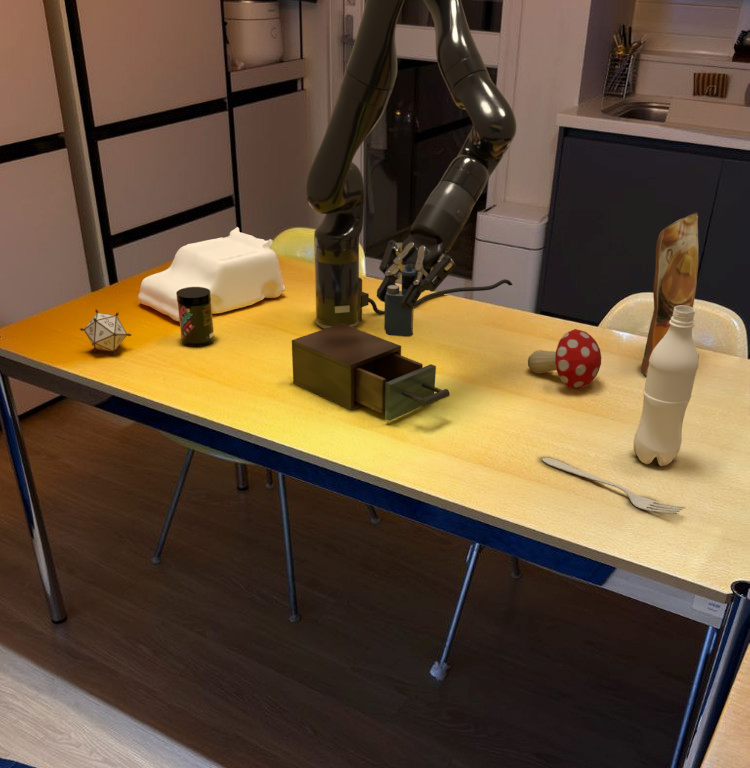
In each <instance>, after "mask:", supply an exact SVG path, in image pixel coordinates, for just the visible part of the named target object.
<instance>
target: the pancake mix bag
mask: <svg viewBox="0 0 750 768" xmlns="http://www.w3.org/2000/svg"><path fill="white" fill-rule="evenodd" d="M698 214H699V212H697V211H696V212H693V213H691V214H689V215H687V216H685V217H682V218H680V219H678V220H676V221H674V222H672V223H671V224H669V225H667V226H666V227H664V228H663V229H662V230H661V231H660V232H659V234H658V238H657V240H656V246H655V273H654V278H653V286H652V287H653V288H652V289H653V293H652V294H653V295H652V296H653V311H652V316H651V321H650V324H649V329H648V333H647V338H646V343H645V348H644V352H643V358H642V361H641V366H640V372H641V373H642V374H643V375H644V376H646V377H647V373H648V368H649V359H650V356H651V353H652V351H653V350H654V348H655V347H656V346H657V344H658V343H659V342H660V341H661V340H662V338H663V337H664V336H665V335H666V333H667V332H668V330H669V327H670V324H669V321H670V320H671V317H672V316H673V311H674V308H675V307H676V306H689V307H692V308H694V304H695V299H696V298H695V297H696V291H697V285H698V284H697V283H698V272H699V271H698V270H699V215H698Z"/></svg>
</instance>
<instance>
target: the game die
mask: <svg viewBox="0 0 750 768" xmlns="http://www.w3.org/2000/svg"><path fill="white" fill-rule="evenodd" d="M94 311H95V315H94V316H93V317H92V318H91V319H90V321H88V323H87V325H86V326H85V327H84V328H83V327H80V328H79V330H80V331H81V332H82V331H83V332H84V333H85V334H86V336H87V338H88V340H89V342H90V343H91V346H93V349H92V352H96V351H97V350H100V351H107V352H112V354H113V355H114V356H117V352H116V351H117V349H118V348H119V347H120V346H121V344H122V343H123V342H124V340H125V338H127V336H128V337H131V336H132V334H131V333H127V331H126V329H125V327H124V325H123V324H122V322H121V320H120V319H119V317H118V316H119V311H118V312H115V314H110V313H102V312H99V309H97V308H95V309H94Z"/></svg>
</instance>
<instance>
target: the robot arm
mask: <svg viewBox="0 0 750 768" xmlns="http://www.w3.org/2000/svg"><path fill="white" fill-rule="evenodd" d="M422 1H423V3H424V4H425V6H426V8H427V9H428V12H429V13H430V16H431V19H432V21H433V26H434V33H435V35H434V37H435V56H436V62H437V66H438V69H439V73H440V74H441V76H442V79H443V81H444V83H445V85H446V87H447V90H448V92H449V94H450V97H451V99H452V101H453V102H454V104H455V106H457V107H458V108H459V109H461V110H465V111H466V113H467V114H468V116H469V118H470V121H471V123H472V127H471V130H470V132H469V133H468V135H467V137H466V140H465V141H464V143H463V145H462V147H461V149H460V150H459V152H458V154H457V155H456V157H454V158H453V160H452V161H451V162H450V164H448V167H447V168H446V170H445V171H444V173H443V175H442V177H441V179H440V180H439V182H438V184H437V185H436V186H435V187H434V189H432V191H431V192H430V194H429V196H428V197H427V199H426V201H425V202H424V204H423V205H422V207H421V209H420V211H419V213H418V214H417V216H416V217H415V219H414V221H413V222H412V224H411V227H410V234H409V235H408V237H406V238H405V239H404V240H403V242H397V241H395V240H394V239H390V240H389V241H388V243H387V245H386V248H385V251H384V253H383V256H382V259H381V262H380V264H379V267H378V268H379V270H380V272H381V273H382V274H383V275H384V278H383V280H382V281H381V283H380V285H379V286H378V288H377V290H376V298H378V300H379V301H380V302H383V303H385V295H386V292H387V287H388V286H389V285H397V284H396V283H397V282H398V281H399V280H401V279H402V270H403V269H406V265H407V264H412V265H413V266H412V269H415V271H416V275H415V276H414V280H413V284H414V285H412V284H411V285H410V287H409V288H408V290H407V292H406V293H405V295H404V297H403V298H402V300H401V302H400V304H401V306H402V307H403V308H404V309H406V310H410V308H412V307H413V306H414V305H415V306H414V308H415V307H417V306H418V305H421V304H422V303H423V302H425V301H427V300H429V299H432V298H435V297H438V296H443V295H448V294H454V293H461V292H483V291H491V290H494V289H496V288H498V287H500V286H502V285H503V284H507V285H508V286H513V283H512V281H511V280H509V279H507V278H505V279H500V280H499V281H497V282H495V283H494V284H491V285H486V286H485V285H484V286H467V287H466V286H465V287H464V286H463V287H454V288H448V289H443V290H438V291H436V290H437V289H438V287H439V286H440V285H441V284H442V283H443V282H444V281H445V279H446V278H447V277H448V276H449V275H450V273H451V272H453V270H454V269H455V268H456V265H457V264H456V263H455V262H454V260H453V259H452V257H451V256H450V255H449V254H446V253H448V252H449V251H450V250H451V249H452V247H453V246H454V244H455V242H456V241H457V239H458V237H459V235H460V233H461V232H462V230H463V229H464V227H465V225H466V223H467V222H468V220H469V218H470V215H471V213H472V211H473V209H474V207H475V205H476V203H477V202H478V200H479V198H480V197H481V195H482V193H483V191H484V190H485V188H486V186H487V184H488V181H489V178H490V177H491V176H492V174H493V172H494V171H495V170H496V168H497V167H498V166H499V164H500V163H501V161H502V159H503V158H504V156H505V155H506V153H507V151H508V149H509V147H510V145H511V144H512V142H513V141H514V138H515V136H516V134H517V119H516V116H515V114H514V111H513V109H512V107H511V105H510V103H509V102H508V100H507V99H506V98H505V96H504V94H503V93H502V92H501V90H500V88H498V86H497V85H496V84H495V83H494V82H493V81H492V78H491V76H490V73H489V71H488V68H487V67H486V64H485V62H484V60H483V58H482V55H481V54H480V51H479V49H478V47H477V45H476V42H475V39H474V37H473V35H472V32H471V30H470V26H469V23H468V21H467V17H466V13H465V11H464V7H463V4H462V0H422ZM404 2H405V0H366V1H365V5H364V8H363V12H362V15H361V18H360V22H359V26H358V28H357V29H358V30H357V32H356V36H355V40H354V42H353V46H352V49H351V53H350V56H349V57H348V61H347V64H346V66H345V70H344V73H343V76H342V79H341V82H340V85H339V90H338V92H337V95H336V96H337V97H336V99H335V103H334V106H333V109H332V111H331V114H330V118H329V120H328V124H327V126H326V130H325V133H324V135H323V138H322V141H321V143H320V146H319V148H318V150H317V152H316V154H315V157H314V159H313V161H312V164H311V165H310V167H309V170H308V173H307V176H306V180H305V183H304V185H305V187H304V190H305V191H304V192H305V198H306V202H307V203H308V206H309V207H310V208H311V209H312V210H313V211H314V212H315V213H318V214H320V215H321V214H322V215H324V217H323V219H322V221H321V222H320V224H319V225H318V226H317V227H316V228H315V230H314V233H313V241H314V242H313V243H314V245H313V247H314V283H315V284H314V285H315V286H314V287H315V324H316V326H318V327H319V328H321V329H326V328H329V327H332V326H335V325H338V324H341V323H343V324H345V325H348V326H351V327H353V328H356V327H357V326H359V324H360V323H361V322H363V308H364V307H368V306H369V304H370V305H371V306H372V310H373V311H374V313H375V314H378V315H381V316H382V315H383V316H384V314H385V310H381V309H379V308H378V305H377V303H376V301H374V299H372V298H370V294H369V293H367V292H365V291H363V279H362V277H360V236H361V233H362V230H363V226H364V215H365V214H364V213H365V182H364V181H365V180H364V177H363V174H362V171H361V169H360V168H359V166H358V165H357V164H355V163H354V162H353V160H354V157H355V156H356V154H357V151H358V150H359V148H360V147H361V146H362V144H363V143H364V141H365V140H366V139H367V138H368V136H369V135H370V134H371V132H372V131H373V130H374V128H375V126H376V125H377V124H378V123H379V121H380V119H381V118H382V116H383V114H384V113H385V111H386V108H387V107H388V104H389V102H390V98H391V96H392V93H393V91H394V87H395V84H396V80H397V76H398V54H397V47H396V31H397V30H396V29H397V25H398V24H397V23H398V20H399V17H400V13H401V11H402V8H403V5H404ZM403 264H404V265H405V266H404V265H403ZM425 291H430V292H432V293H429V294H425V295H423V296H422V297H421V295H422V293H424V292H425ZM435 291H436V292H435Z"/></svg>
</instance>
